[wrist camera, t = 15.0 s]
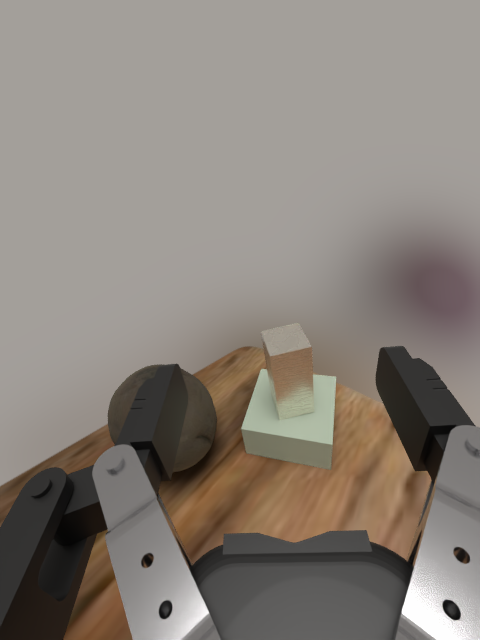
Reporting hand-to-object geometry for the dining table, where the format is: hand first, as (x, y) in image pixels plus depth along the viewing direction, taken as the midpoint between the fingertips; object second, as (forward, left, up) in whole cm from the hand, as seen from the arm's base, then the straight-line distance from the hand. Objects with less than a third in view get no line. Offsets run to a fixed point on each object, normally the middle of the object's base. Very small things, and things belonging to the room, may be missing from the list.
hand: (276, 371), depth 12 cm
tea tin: (+2, +21, -26) cm, 34 cm away
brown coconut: (-16, +18, -32) cm, 40 cm away
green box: (+2, +21, -32) cm, 39 cm away
